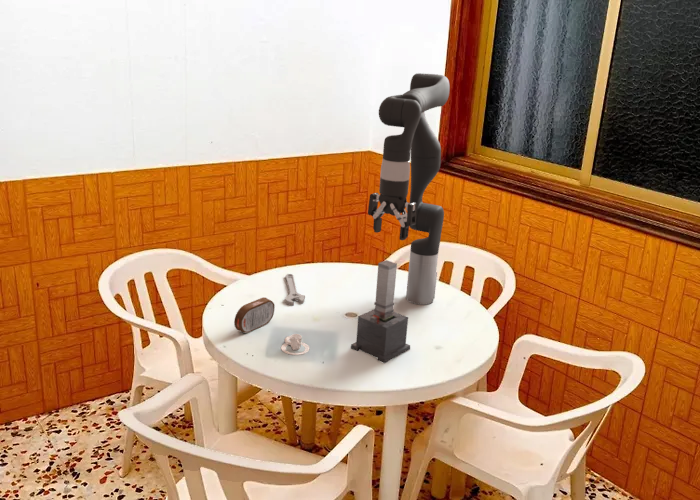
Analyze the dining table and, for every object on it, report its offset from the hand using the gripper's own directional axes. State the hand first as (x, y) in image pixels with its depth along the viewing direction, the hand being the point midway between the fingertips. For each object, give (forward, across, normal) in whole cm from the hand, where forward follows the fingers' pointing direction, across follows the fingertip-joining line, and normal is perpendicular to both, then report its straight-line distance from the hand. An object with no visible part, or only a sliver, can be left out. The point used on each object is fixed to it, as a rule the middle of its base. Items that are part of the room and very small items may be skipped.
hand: (389, 235), depth 180 cm
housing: (+34, 0, 0) cm, 34 cm away
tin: (+34, +34, +17) cm, 51 cm away
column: (+27, 0, 0) cm, 27 cm away
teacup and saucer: (+35, +17, +14) cm, 41 cm away
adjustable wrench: (+34, +46, -12) cm, 59 cm away
